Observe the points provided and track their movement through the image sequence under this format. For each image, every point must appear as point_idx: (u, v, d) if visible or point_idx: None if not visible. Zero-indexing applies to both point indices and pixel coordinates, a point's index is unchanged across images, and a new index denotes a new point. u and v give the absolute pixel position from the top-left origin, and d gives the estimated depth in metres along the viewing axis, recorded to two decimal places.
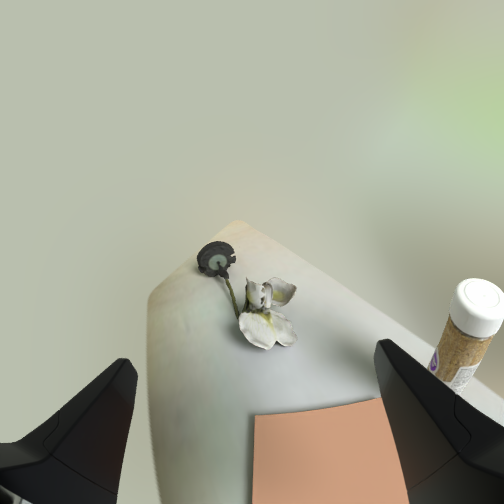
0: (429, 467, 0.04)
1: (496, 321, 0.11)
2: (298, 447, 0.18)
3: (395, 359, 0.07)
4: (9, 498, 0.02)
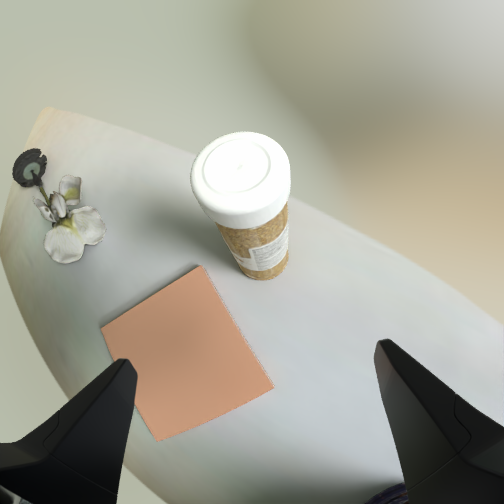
0: (429, 467, 0.04)
1: (262, 210, 0.11)
2: (143, 347, 0.22)
3: (395, 359, 0.07)
4: (9, 498, 0.02)
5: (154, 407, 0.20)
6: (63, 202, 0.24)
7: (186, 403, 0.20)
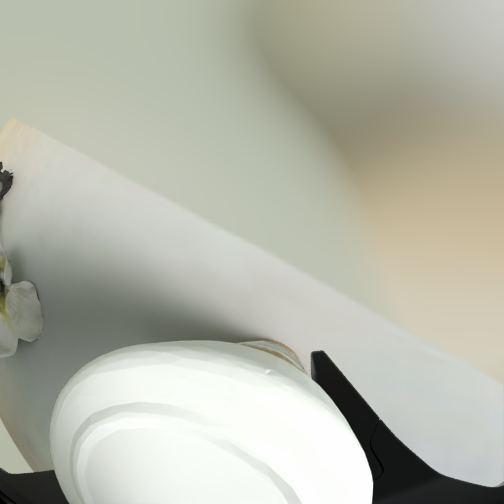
0: None
1: None
2: None
3: (321, 373, 0.07)
4: None
5: None
6: None
7: None
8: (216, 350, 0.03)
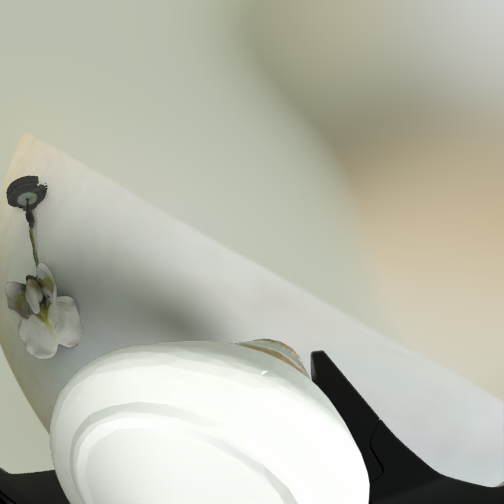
0: None
1: None
2: None
3: (321, 373, 0.07)
4: None
5: None
6: (36, 299, 0.19)
7: None
8: (213, 351, 0.03)
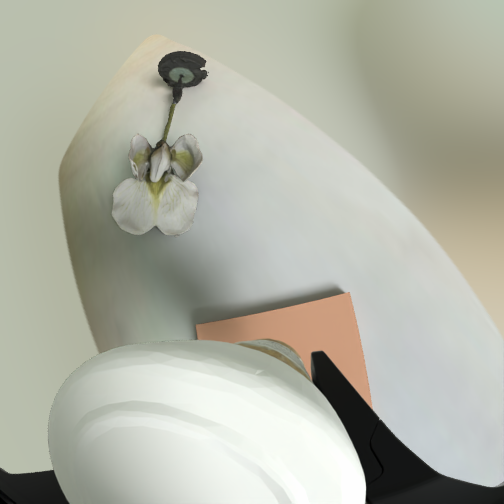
0: None
1: None
2: None
3: (321, 373, 0.07)
4: None
5: None
6: (164, 167, 0.21)
7: None
8: (208, 350, 0.03)
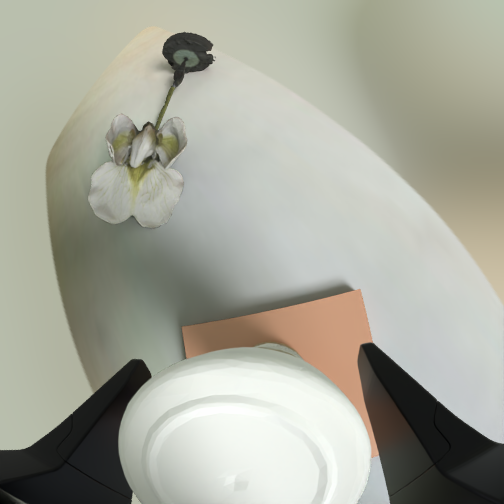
0: (409, 474, 0.04)
1: None
2: None
3: (376, 363, 0.07)
4: None
5: None
6: (145, 151, 0.18)
7: None
8: (265, 355, 0.04)
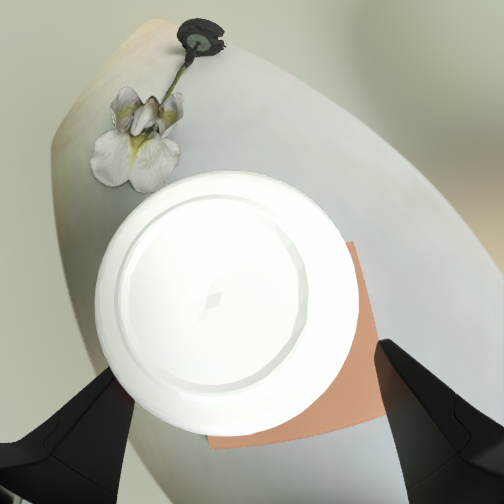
0: (429, 467, 0.04)
1: (278, 423, 0.04)
2: None
3: (395, 359, 0.07)
4: (9, 498, 0.02)
5: None
6: (145, 121, 0.19)
7: None
8: None
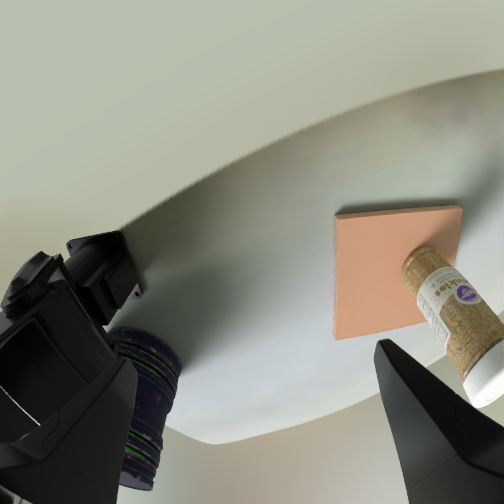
0: (429, 467, 0.04)
1: (472, 398, 0.09)
2: None
3: (395, 359, 0.07)
4: (9, 498, 0.02)
5: (375, 237, 0.19)
6: None
7: (363, 273, 0.21)
8: None
